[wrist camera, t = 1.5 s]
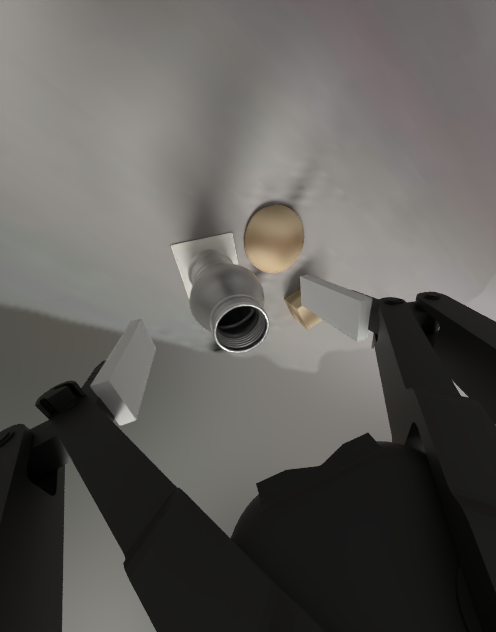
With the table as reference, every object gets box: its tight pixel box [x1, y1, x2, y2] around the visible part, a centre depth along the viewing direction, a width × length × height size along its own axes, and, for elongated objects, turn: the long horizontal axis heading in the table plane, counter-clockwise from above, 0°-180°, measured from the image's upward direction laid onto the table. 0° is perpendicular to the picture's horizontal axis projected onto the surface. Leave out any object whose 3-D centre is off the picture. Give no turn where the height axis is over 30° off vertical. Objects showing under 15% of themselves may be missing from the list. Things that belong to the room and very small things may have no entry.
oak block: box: [284, 288, 323, 330], centre depth 35 cm, size 5×5×5 cm
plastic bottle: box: [188, 249, 269, 353], centre depth 21 cm, size 6×7×20 cm
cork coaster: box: [244, 205, 304, 273], centre depth 30 cm, size 10×10×1 cm
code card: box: [171, 233, 238, 300], centre depth 30 cm, size 9×9×1 cm
